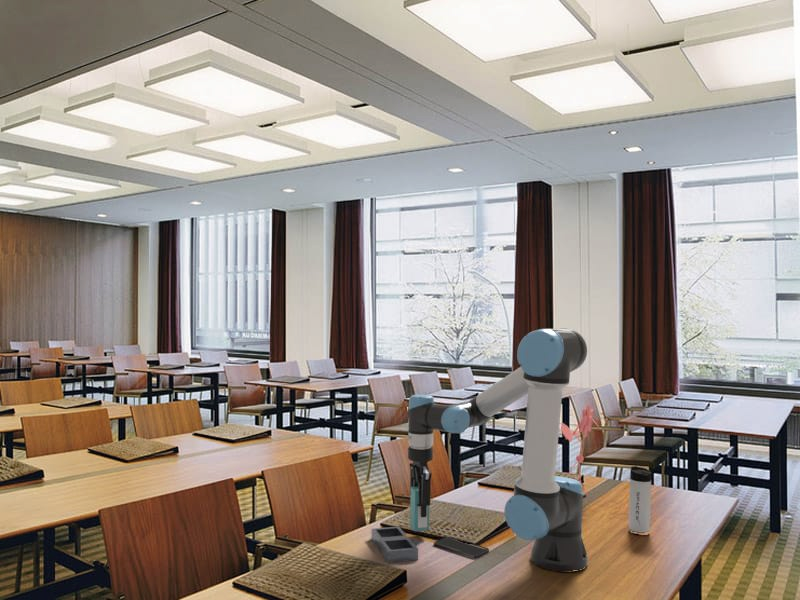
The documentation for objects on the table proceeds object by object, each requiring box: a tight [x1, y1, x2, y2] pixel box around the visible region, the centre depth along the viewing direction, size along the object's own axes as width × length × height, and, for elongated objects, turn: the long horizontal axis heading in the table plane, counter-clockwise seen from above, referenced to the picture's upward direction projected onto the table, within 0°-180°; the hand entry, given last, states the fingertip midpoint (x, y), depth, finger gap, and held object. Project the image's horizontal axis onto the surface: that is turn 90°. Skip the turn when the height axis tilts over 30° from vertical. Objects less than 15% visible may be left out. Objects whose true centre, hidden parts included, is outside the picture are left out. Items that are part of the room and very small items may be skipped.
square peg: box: [409, 486, 430, 532], centre depth 200 cm, size 4×4×12 cm
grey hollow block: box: [371, 526, 419, 563], centre depth 190 cm, size 18×8×3 cm, turn 17°
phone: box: [433, 536, 490, 560], centre depth 191 cm, size 8×1×15 cm
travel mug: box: [628, 465, 652, 533], centre depth 209 cm, size 6×7×20 cm
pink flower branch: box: [560, 403, 609, 507], centre depth 241 cm, size 15×26×35 cm, turn 145°
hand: (419, 524), depth 200 cm, fingers closed on square peg, 4 cm apart
